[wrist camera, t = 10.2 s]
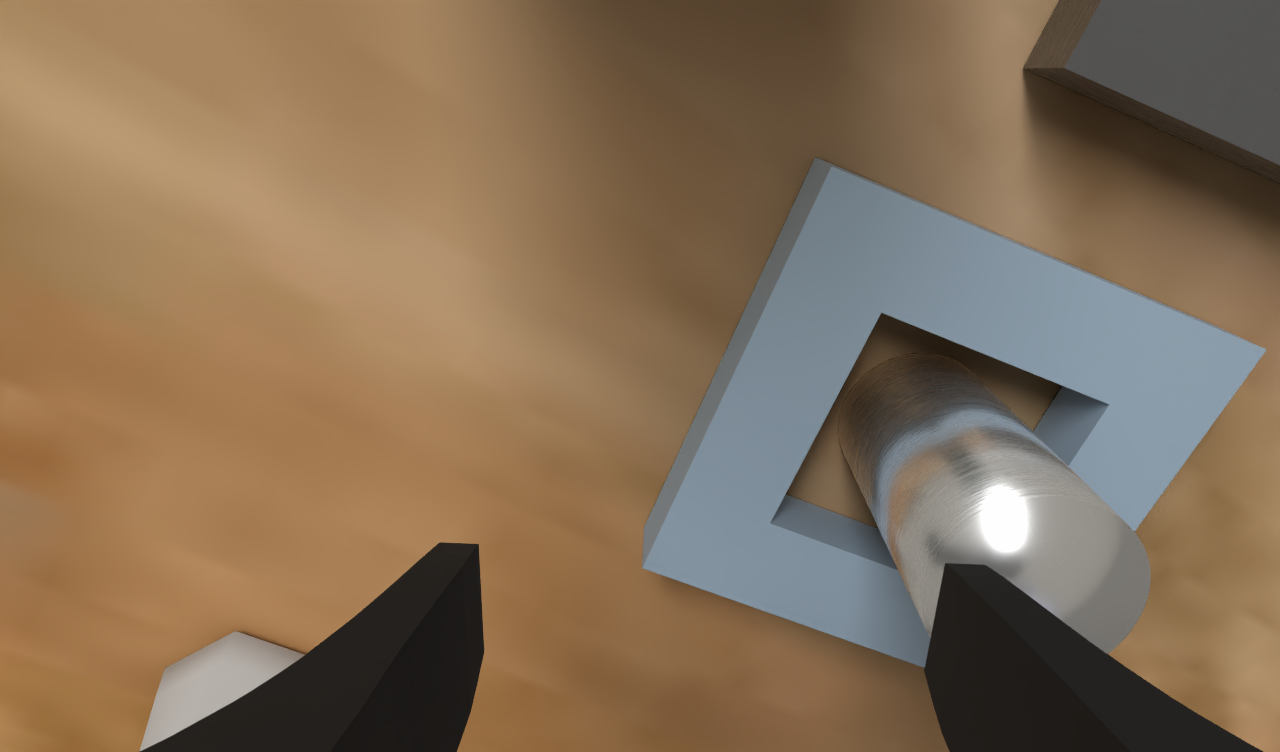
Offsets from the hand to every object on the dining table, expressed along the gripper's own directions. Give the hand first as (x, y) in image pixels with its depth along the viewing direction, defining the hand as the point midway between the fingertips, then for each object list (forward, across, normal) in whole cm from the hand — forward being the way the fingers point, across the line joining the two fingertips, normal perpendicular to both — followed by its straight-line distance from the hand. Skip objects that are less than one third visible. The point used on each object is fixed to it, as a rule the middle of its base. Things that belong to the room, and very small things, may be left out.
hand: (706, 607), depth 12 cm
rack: (+9, -6, +1) cm, 11 cm away
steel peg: (+9, -6, +1) cm, 11 cm away
